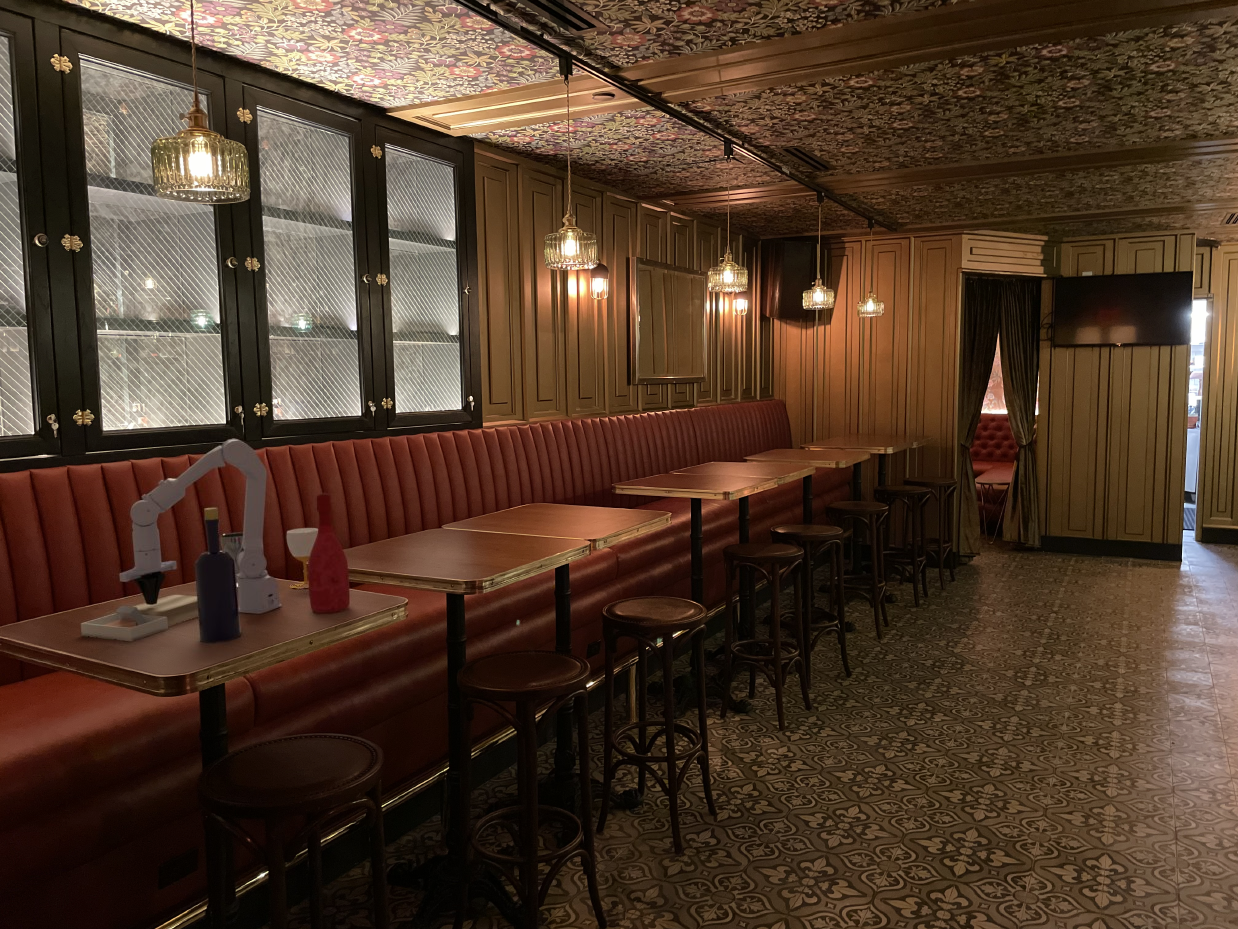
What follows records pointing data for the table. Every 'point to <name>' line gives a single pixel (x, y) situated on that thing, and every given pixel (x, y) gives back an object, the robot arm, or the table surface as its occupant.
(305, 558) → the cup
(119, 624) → the terracotta tile
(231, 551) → the wine glass
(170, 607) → the board
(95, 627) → the box
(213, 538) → the bottle
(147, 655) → the table surface
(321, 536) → the wine bottle
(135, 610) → the slate tile
